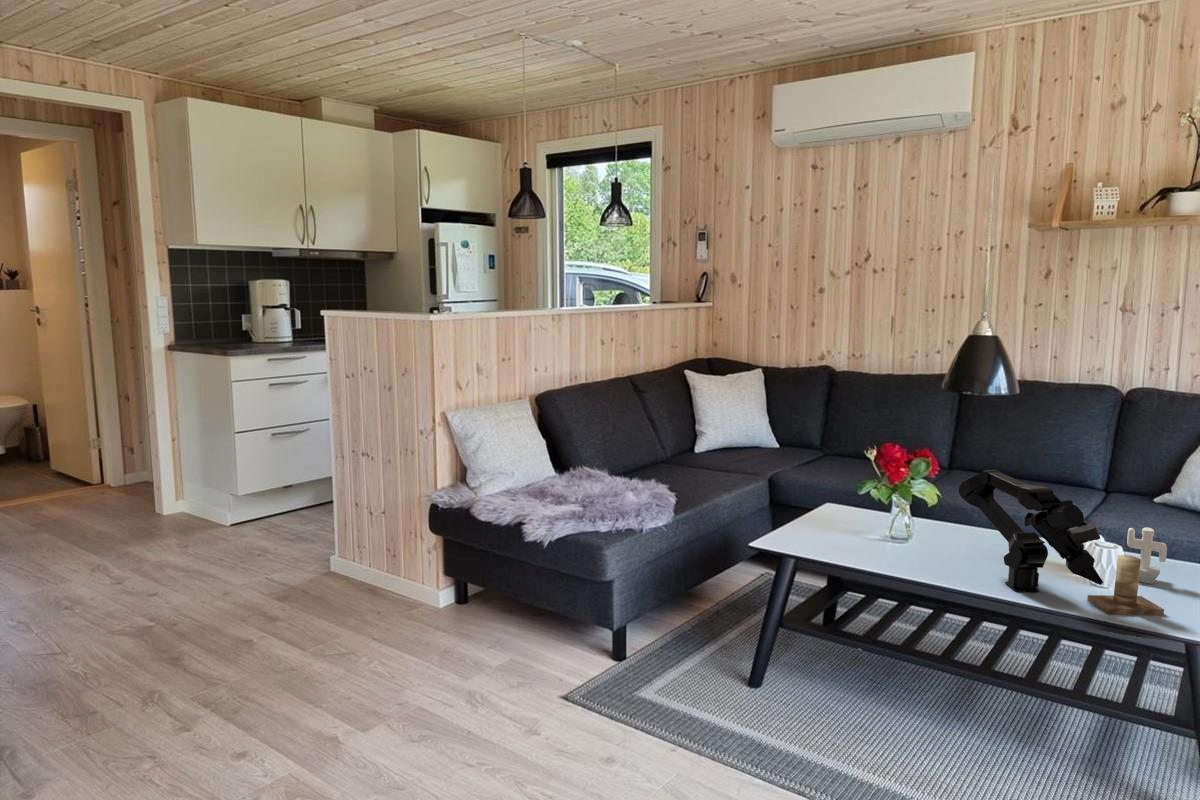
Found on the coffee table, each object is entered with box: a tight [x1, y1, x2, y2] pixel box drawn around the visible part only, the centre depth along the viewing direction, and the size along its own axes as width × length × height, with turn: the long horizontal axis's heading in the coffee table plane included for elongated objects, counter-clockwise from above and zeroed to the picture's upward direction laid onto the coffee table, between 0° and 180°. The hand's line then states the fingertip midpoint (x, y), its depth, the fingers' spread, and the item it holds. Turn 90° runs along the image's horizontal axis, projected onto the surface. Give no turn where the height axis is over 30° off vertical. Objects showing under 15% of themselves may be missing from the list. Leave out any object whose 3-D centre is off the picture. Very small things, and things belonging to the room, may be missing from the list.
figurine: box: [1126, 526, 1168, 585], centre depth 230 cm, size 7×9×15 cm
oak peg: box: [1113, 554, 1141, 606], centre depth 210 cm, size 5×5×13 cm
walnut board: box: [1087, 594, 1165, 616], centre depth 211 cm, size 14×9×2 cm, turn 89°
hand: (1097, 577), depth 212 cm, fingers open, 9 cm apart
